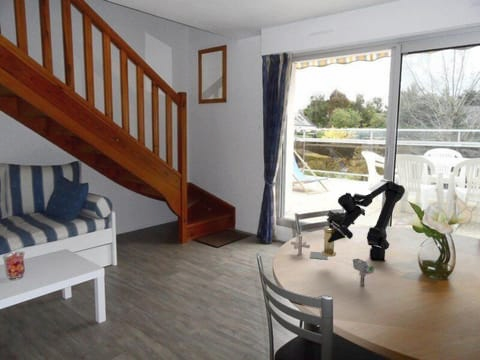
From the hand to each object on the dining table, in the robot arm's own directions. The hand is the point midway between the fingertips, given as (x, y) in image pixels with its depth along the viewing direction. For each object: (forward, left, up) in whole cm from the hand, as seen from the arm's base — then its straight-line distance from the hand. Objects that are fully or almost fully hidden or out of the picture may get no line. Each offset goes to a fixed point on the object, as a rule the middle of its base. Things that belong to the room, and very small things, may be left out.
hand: (326, 240), depth 168 cm
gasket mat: (+3, -15, -13) cm, 20 cm away
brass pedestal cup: (-1, -1, -7) cm, 7 cm away
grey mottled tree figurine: (-15, +16, -13) cm, 26 cm away
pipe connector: (+13, -15, -13) cm, 24 cm away
